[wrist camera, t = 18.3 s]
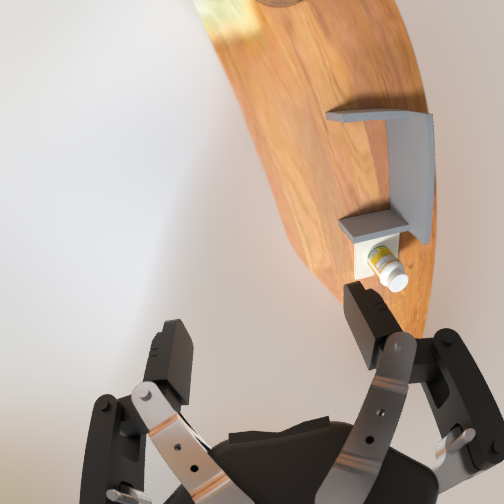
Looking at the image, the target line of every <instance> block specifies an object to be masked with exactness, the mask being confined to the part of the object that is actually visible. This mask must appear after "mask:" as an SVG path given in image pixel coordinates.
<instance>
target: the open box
mask: <svg viewBox="0 0 504 504" xmlns="http://www.w3.org/2000/svg"><path fill="white" fill-rule="evenodd" d="M326 118H327V120H332V121H338V122H343V123H344V122H354V121H367V120H382V119H385V122H386V131H387V142H388V156H389V178H390V209H388V210H383V211H378V212H373V213H368V214H364V215H359V216H354V217H349V218H344V219H339V226H340V228H341V229H342V230H343V231H344V233H345V234H346V235H347V236H348V238H349V239H350V240H351V241H352V243H353V244H355V243H359V242H364V241H368V240H372V239H376V238H381V237H385V236H389V235H393V234H397V233H401V232H405V231H409V232H410V233H412V234H413V235H414V236H415V237H416V238H417V239H418V240H419V241H420V242H422V243H423V244H428V243H429V242H430V234H431V225H432V215H433V202H434V182H435V145H434V125H433V114H429V113H422V112H416V111H409V110H401V109H392V108H379V109H360V110H346V111H335V112H326Z"/></svg>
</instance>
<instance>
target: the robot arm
mask: <svg viewBox="0 0 504 504" xmlns="http://www.w3.org/2000/svg"><path fill="white" fill-rule="evenodd" d="M256 1H258V2H260V3H262V4H264V5H267V6H271V7H288V6H291V5H294V4H296V3H297V2H299V1H300V0H256ZM344 314H345V318H346V320H347V322H348V324H349V326H350V329H351V331H352V333H353V335H354V338H355V340H356V342H357V344H358V347H359V349H360V351H361V354H362V356H363V358H364V360H365V363H366V365H367V367H368V370H372V369H375V368H376V370H377V371H376V374H375V377H374V379H373V381H372V383H371V385H370V388H369V391H368V393H367V396H366V398H365V401H364V403H363V405H362V408H361V410H360V412H359V415H358V417H357V419H356V421H355V424H354V425H351V424H348V423H345V422H338V421H330V420H329V416H326V417H322V418H318V419H314V420H310V421H305V422H303V423H300V424H298V425H296V426H293V427H291V428H289V429H286V430H284V431H282V432H277V433H276V432H260V431H247V432H238V433H229V439H228V440H225V441H223V442H221V443H219V444H218V445H216V446H214V447H213V448H211V447H210V445H208V443H206V441H205V440H204V439H203V438H202V437H201V436H200V435H199V434H198V433H197V431H196V430H195V429H194V428H193V427H192V426H191V424H190V423H189V422H188V420H187V419H186V418H185V417H184V415H183V414H182V413H181V412H180V411H181V405H189V395H190V382H191V371H192V361H193V343H192V340H191V337H190V336H189V334H188V332H187V330H186V328H185V326H184V324H183V323H182V321H181V320H180V319H176V320H170V321H165V323H164V326H163V330H162V332H159V333H157V334H156V336H155V337H154V339H153V340H152V344H151V348H150V350H151V351H150V352H149V357H148V361H147V365H146V369H145V374H144V379H143V382H142V383H140V384H139V385H137V386H136V387H135V388H134V390H133V391H132V394H131V395H129V396H126V397H123V398H119V399H116V398H115V397H113V396H112V395H110V394H105V395H102V396H101V397H99V398H98V399H97V400H96V402H95V404H94V408H93V412H92V417H91V422H90V427H89V432H88V437H87V443H86V449H85V456H84V463H83V471H82V479H81V489H80V502H79V503H80V504H152V503H151V499H150V498H149V496H148V495H147V494H146V493H144V467H145V447H146V434H147V433H148V435H149V437H150V439H151V440H152V442H153V444H154V445H155V447H156V448H157V450H158V451H159V453H160V454H161V455H162V457H163V459H164V460H165V461H166V463H167V464H168V466H169V467H170V469H171V470H172V471H173V473H174V474H175V475H176V477H177V478H178V479H179V480H180V482H181V483H182V484H181V485H180V486H179V487H178V488H177V489H176V490H175V491H174V493H173V494H172V495H171V496H170V497H169V498H168V499H167V500H166V502H164V504H436V501H437V497H438V494H440V493H442V492H444V491H446V490H448V489H449V488H452V487H454V486H455V485H457V484H459V483H461V482H462V481H464V480H467V479H469V478H472V477H474V476H476V475H478V474H480V473H482V472H483V471H486V470H487V469H489V468H491V467H493V466H495V465H496V464H498V463H500V462H502V461H503V460H504V420H503V417H502V415H501V413H500V411H499V408H498V406H497V404H496V402H495V400H494V398H493V395H492V393H491V391H490V389H489V387H488V385H487V383H486V381H485V379H484V377H483V375H482V374H481V372H480V370H479V368H478V367H477V364H476V363H475V361H474V359H473V357H472V356H471V354H470V352H469V351H468V349H467V347H466V345H465V344H464V342H463V341H462V339H461V337H460V336H459V334H458V333H457V332H456V331H454V330H452V329H449V328H444V329H440V330H439V331H437V332H436V334H435V335H434V338H423V339H417V338H414V337H413V336H412V335H411V334H409V333H406V332H403V331H402V329H401V327H400V326H399V324H398V323H397V321H396V319H395V318H394V316H393V314H392V313H391V311H390V310H389V309H388V307H387V305H386V303H384V300H383V299H382V297H381V296H380V294H379V293H377V292H376V291H374V290H373V289H367V290H365V289H364V287H363V285H362V284H361V282H360V281H356V282H352V283H349V284H345V285H344ZM411 383H421V385H422V387H423V390H424V392H425V394H426V397H427V399H428V402H429V404H430V407H431V409H432V412H433V415H434V417H435V420H436V423H437V425H438V428H439V431H440V434H441V437H442V440H441V441H440V442H439V443H438V445H437V447H436V453H435V454H436V463H435V466H434V468H433V469H432V470H431V469H430V468H429V467H427V466H425V465H423V464H421V463H420V462H418V461H416V460H414V459H412V458H410V457H408V456H406V455H404V454H403V453H401V452H399V451H397V450H395V449H393V448H392V447H390V443H391V440H392V438H393V435H394V432H395V430H396V427H397V424H398V421H399V418H400V415H401V412H402V409H403V406H404V402H405V399H406V396H407V392H408V384H411Z"/></svg>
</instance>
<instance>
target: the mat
mask: <svg viewBox="0 0 504 504" xmlns="http://www.w3.org/2000/svg"><path fill="white" fill-rule="evenodd" d="M399 235H400V233H397V234H393V235H389V236H385V237H381V238H376V239H372V240H368V241H364V242H359V243H355V244H354V278H355V279H356V280H358V279H362V278H366V277H369V276H373V275H375V273H374V272H373V271H372V269H371V268H370V266H369V265H368V263H367V260H366V258H367V254H368V252H369V250H370V249H371V248H372V247H374V246H376V245H380V244H382V245H385V246H386V247H387V248H388V249H389V250H390V251H391V252H392V253H393V254H394V255H395V256H396V257H397V259H398V248H399Z"/></svg>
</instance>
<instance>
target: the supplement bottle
mask: <svg viewBox="0 0 504 504" xmlns="http://www.w3.org/2000/svg"><path fill="white" fill-rule="evenodd" d="M366 260H367V263H368V265H369V266H370V268H371V269H372V271H373V272H374V273H375V275H376V276H377V278H378V279H379V281H380V282H381V283H382V284H383V285H384V286H387V287H389V289H390V290H391V291H392V292H399V291H401V290H402V289H404V288H405V286H406V285H407V283H408V276H407V275H406V273H405V270H404V266H403V264H402V263H401V262H400V261H399V260H398V259H397V257H396V256H395V255H394V254H393V253H392V252H391V251H390V250H389V249H388V248H387V247H386V246H385V245H382V244H380V245H376V246H374V247H372V248H371V249H370V250H369V252H368V254H367V258H366Z"/></svg>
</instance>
